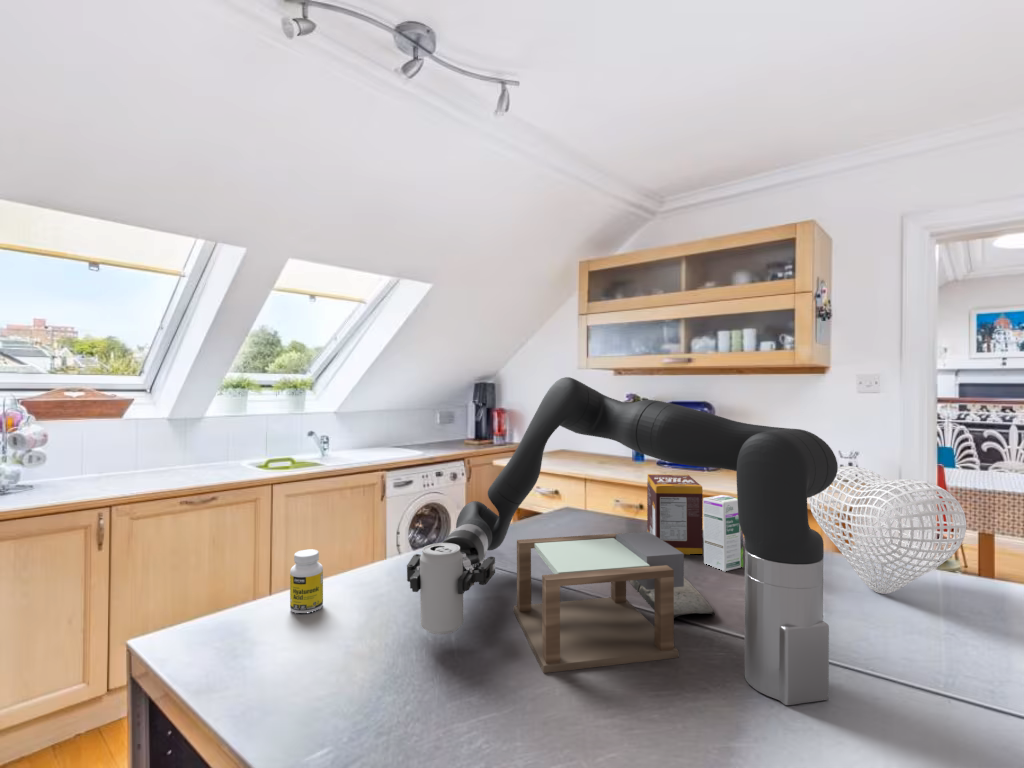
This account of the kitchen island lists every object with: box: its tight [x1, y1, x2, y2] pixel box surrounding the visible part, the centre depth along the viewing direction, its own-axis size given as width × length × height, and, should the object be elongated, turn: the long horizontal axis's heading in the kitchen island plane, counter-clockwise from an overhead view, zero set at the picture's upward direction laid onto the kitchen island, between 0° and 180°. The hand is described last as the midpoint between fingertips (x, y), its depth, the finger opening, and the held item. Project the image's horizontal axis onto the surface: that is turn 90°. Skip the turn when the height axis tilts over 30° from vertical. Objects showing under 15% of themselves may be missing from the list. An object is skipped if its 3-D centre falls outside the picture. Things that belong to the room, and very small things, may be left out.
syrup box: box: [703, 494, 744, 573], centre depth 117 cm, size 6×6×14 cm
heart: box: [808, 465, 967, 595], centre depth 103 cm, size 28×16×22 cm, turn 8°
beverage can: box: [419, 542, 465, 636], centre depth 83 cm, size 6×6×12 cm
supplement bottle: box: [289, 548, 324, 614], centre depth 97 cm, size 5×5×10 cm
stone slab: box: [628, 577, 716, 619], centre depth 106 cm, size 10×3×30 cm
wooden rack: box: [513, 532, 680, 674], centre depth 87 cm, size 20×20×12 cm
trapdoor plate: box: [534, 531, 685, 590], centre depth 88 cm, size 14×20×5 cm
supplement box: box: [646, 473, 704, 555], centre depth 132 cm, size 10×15×16 cm
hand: (437, 586), depth 81 cm, fingers closed on beverage can, 6 cm apart
